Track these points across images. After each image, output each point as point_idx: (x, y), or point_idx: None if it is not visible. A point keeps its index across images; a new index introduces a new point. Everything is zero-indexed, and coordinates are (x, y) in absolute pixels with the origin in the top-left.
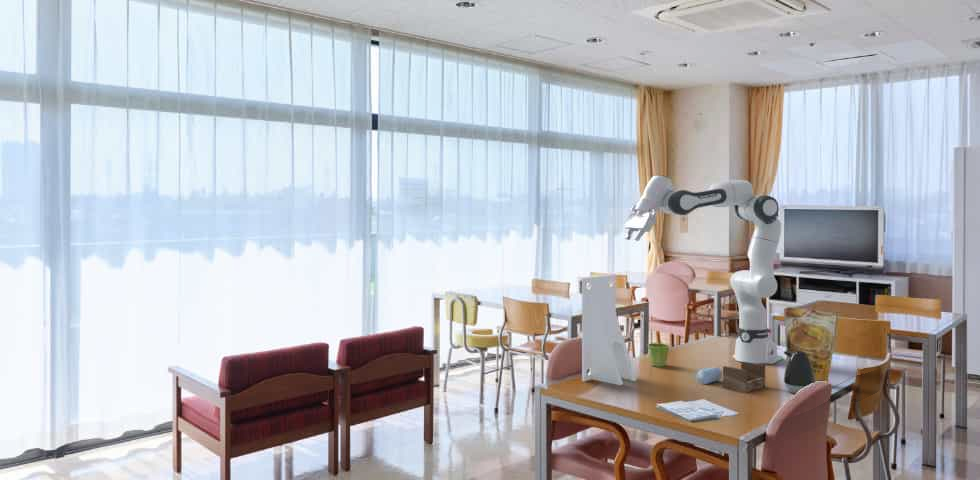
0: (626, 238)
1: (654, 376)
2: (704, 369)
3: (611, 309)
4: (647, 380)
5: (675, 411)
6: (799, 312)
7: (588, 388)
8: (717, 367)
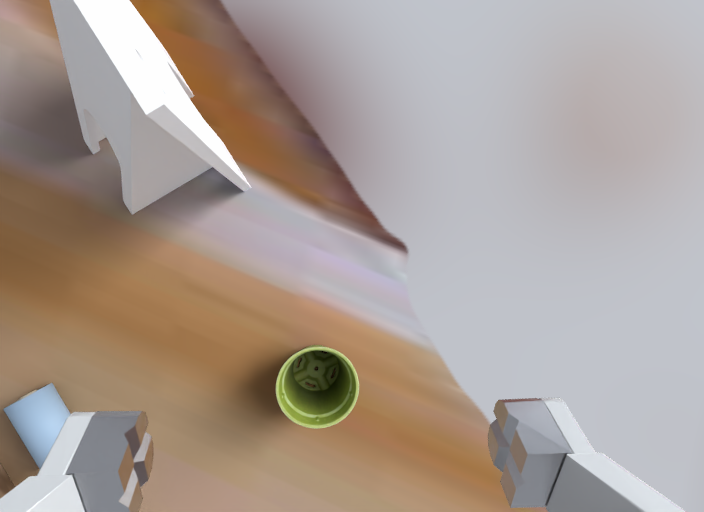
0: (506, 400)
1: (170, 290)
2: (24, 414)
3: (114, 98)
4: (124, 247)
5: None
6: None
7: None
8: None
